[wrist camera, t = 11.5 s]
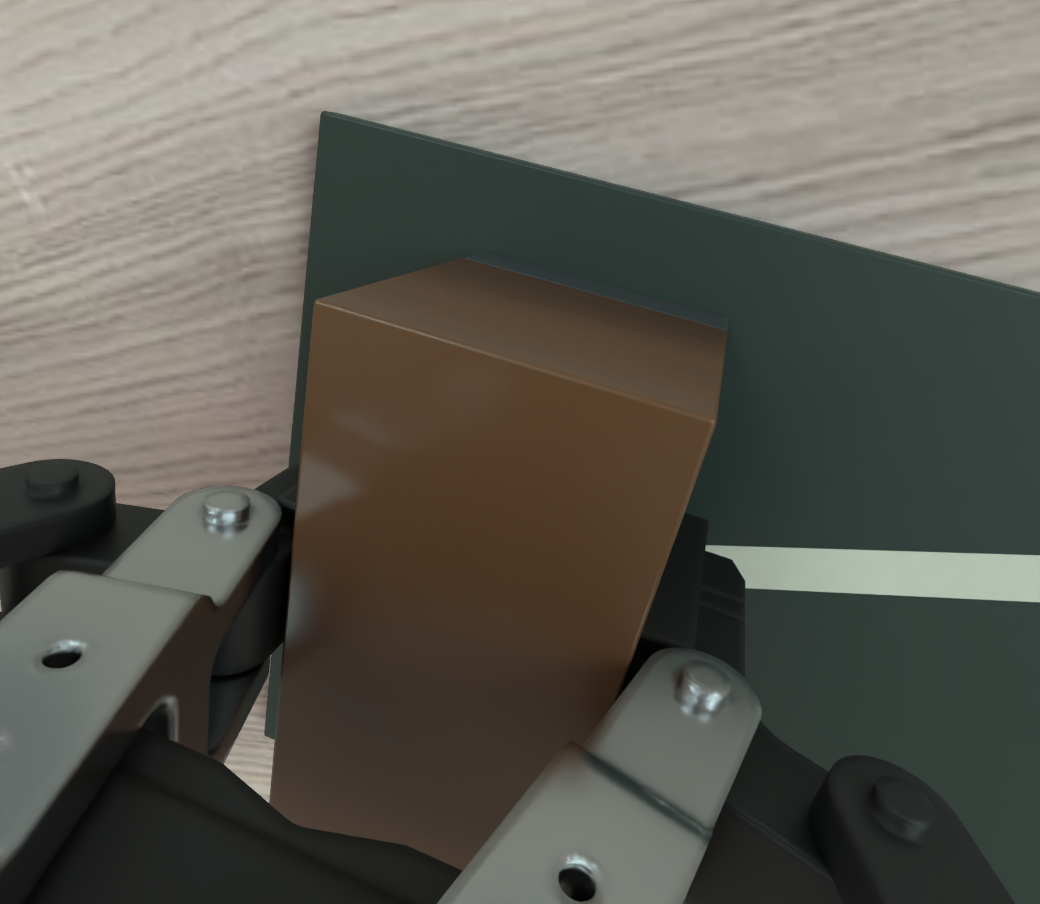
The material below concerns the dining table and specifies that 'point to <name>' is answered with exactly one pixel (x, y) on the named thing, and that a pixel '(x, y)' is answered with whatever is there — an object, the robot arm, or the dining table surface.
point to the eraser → (476, 537)
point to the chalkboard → (791, 450)
